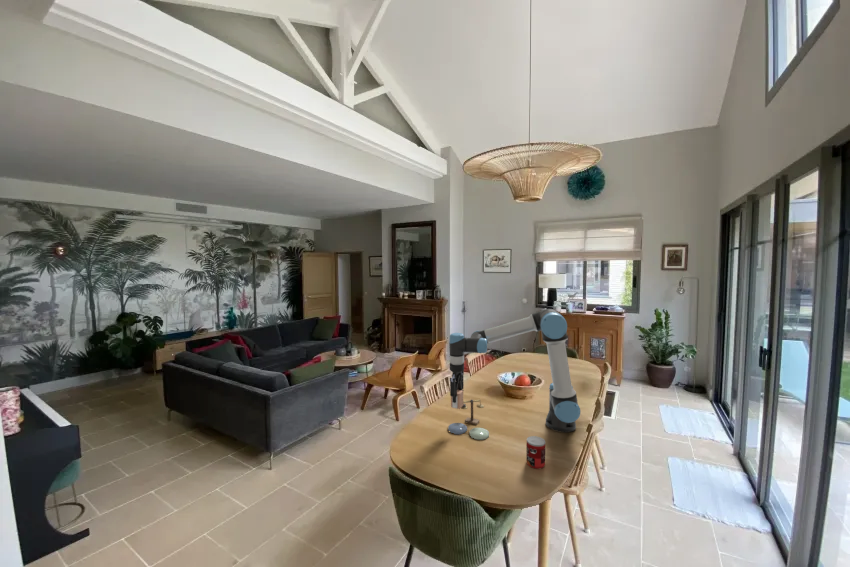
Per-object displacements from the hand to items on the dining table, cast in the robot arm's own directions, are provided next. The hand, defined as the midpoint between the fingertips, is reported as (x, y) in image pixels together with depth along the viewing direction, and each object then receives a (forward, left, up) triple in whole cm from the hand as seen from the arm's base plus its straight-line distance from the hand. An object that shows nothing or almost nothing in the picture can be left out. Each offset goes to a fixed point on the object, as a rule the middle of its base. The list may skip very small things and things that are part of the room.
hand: (457, 405), depth 186 cm
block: (0, 0, 0) cm, 0 cm away
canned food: (-43, +13, -14) cm, 47 cm away
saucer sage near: (-12, 0, -13) cm, 18 cm away
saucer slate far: (0, 0, -13) cm, 13 cm away
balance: (-4, -11, -13) cm, 18 cm away
